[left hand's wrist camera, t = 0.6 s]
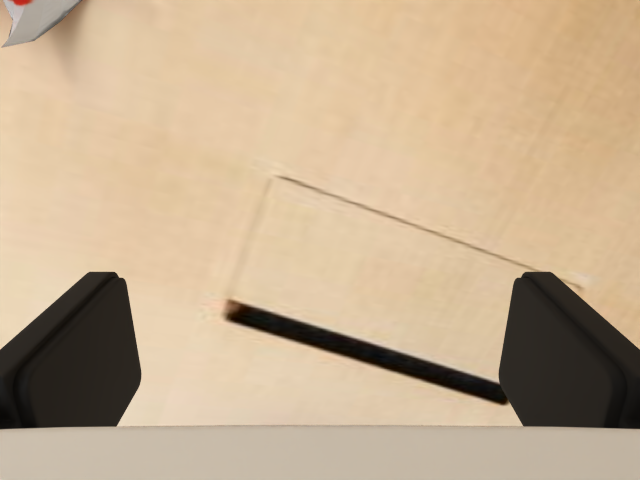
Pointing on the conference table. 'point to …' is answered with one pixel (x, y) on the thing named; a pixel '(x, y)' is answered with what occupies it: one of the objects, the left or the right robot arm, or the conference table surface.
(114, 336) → the left robot arm
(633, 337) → the conference table surface
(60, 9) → the fish
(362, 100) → the conference table surface
